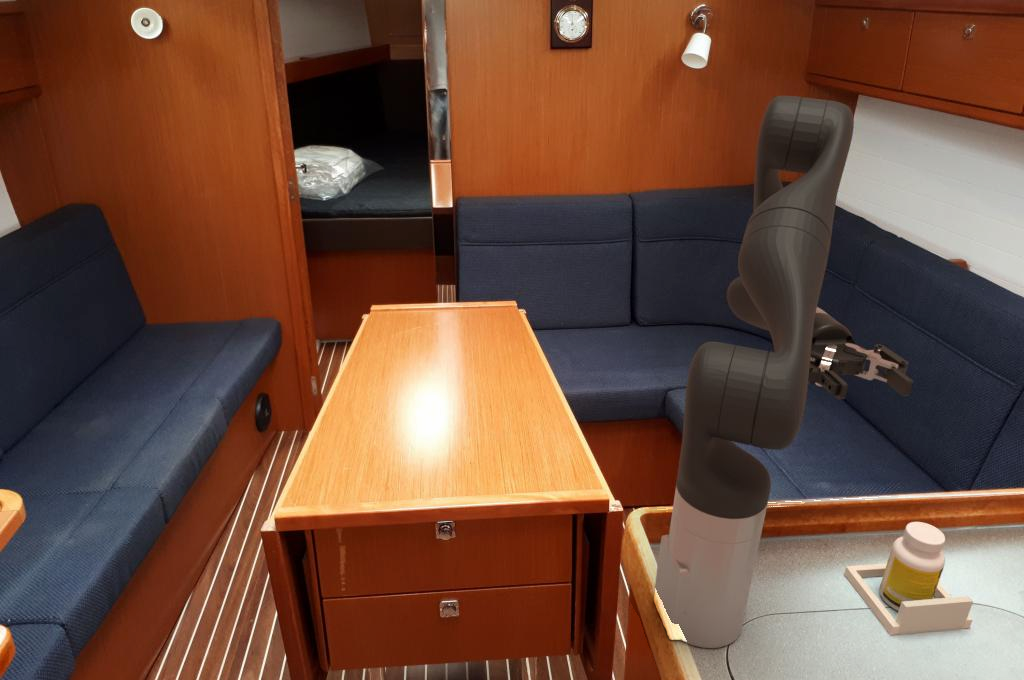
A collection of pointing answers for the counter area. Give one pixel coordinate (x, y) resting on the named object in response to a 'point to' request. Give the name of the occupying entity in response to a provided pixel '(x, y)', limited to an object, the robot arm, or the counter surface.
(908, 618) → the beige open frame
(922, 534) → the supplement bottle
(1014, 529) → the counter surface
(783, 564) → the counter surface
